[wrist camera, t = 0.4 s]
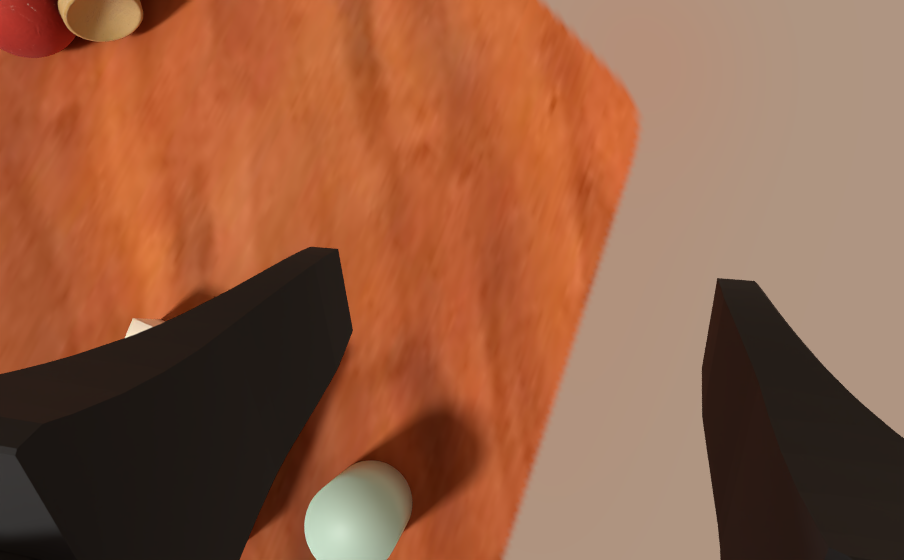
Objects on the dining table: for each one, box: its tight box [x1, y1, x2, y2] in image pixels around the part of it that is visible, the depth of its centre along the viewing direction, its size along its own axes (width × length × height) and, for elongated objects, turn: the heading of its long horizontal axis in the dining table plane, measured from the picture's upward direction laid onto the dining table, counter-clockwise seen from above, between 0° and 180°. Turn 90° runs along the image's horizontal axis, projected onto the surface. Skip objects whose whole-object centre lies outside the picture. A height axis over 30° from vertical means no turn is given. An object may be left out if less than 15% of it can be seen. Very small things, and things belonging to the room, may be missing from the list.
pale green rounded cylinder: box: [305, 460, 413, 560], centre depth 37 cm, size 5×5×5 cm
